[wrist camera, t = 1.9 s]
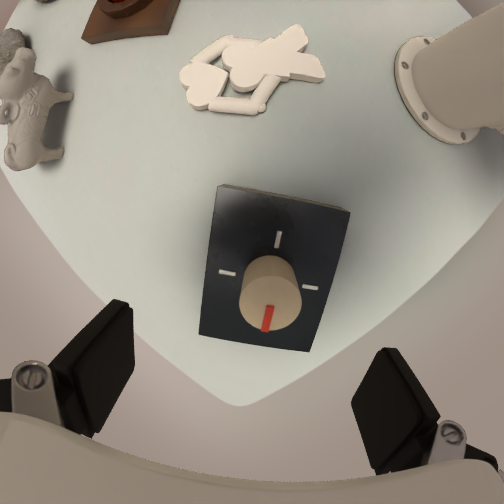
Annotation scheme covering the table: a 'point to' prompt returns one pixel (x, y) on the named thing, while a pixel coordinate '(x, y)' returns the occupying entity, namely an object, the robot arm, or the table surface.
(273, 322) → the knob
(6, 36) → the seashell
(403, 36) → the table surface
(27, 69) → the dog figurine
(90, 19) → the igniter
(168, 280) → the table surface
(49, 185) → the table surface
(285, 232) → the panel
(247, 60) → the white abstract figurine
